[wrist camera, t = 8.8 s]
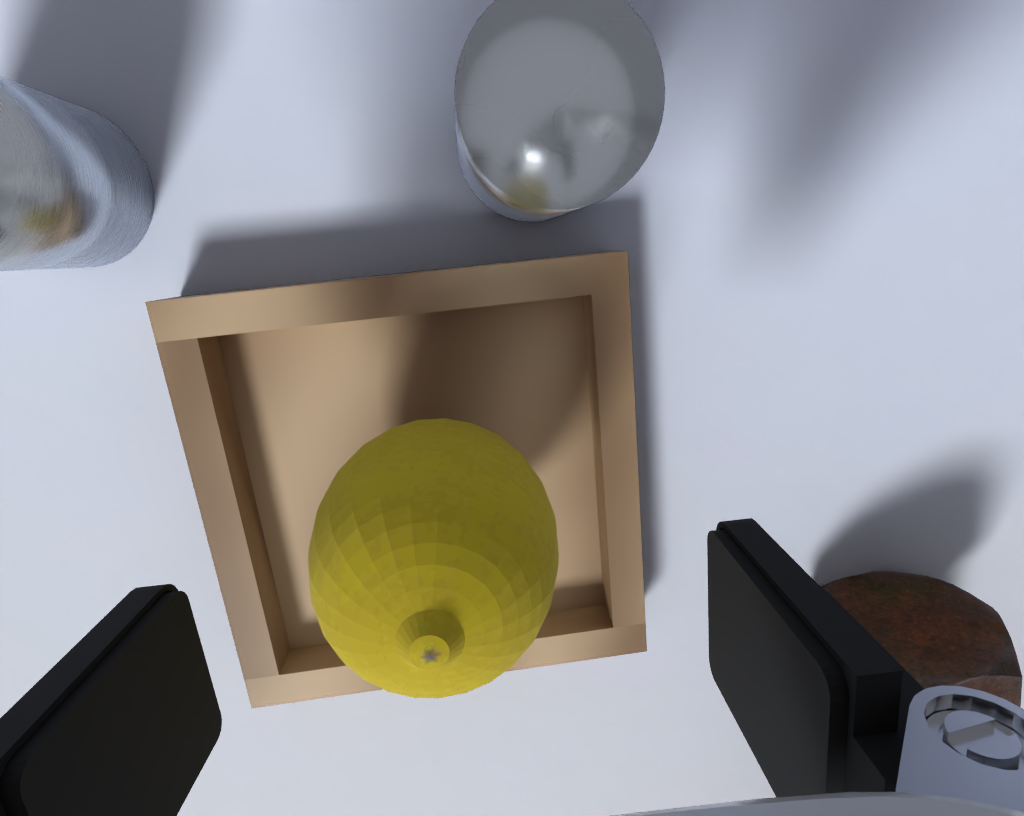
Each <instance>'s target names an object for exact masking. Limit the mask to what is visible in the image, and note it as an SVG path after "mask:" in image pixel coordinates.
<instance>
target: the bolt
mask: <svg viewBox="0 0 1024 816" xmlns="http://www.w3.org/2000/svg"><path fill="white" fill-rule="evenodd" d="M822 588H823V589H825V590H826V591H827V592H829V593H830V594H831V595H832V596H833V597H834V598H835V599H836V600H837V601H838V602H839V603H840V604H841V605H842V606H843V607H844V608H845V609H846V610H847V611H848V612H849V613H850V614H851V615H852V616H853V618H854V619H855V620H856V621H857V622H858V623H859V624H860V625H861V626H862V627H863V628H864V629H865V630H866V631H867V632H868V633H869V634H870V635H871V636H872V637H873V638H874V639H875V640H876V641H877V642H878V643H879V644H880V645H881V646H882V647H883V648H884V649H885V650H886V651H887V652H888V653H889V654H890V655H891V656H892V657H893V658H894V659H895V660H896V661H897V662H898V663H899V664H900V665H901V666H902V667H903V668H904V669H905V670H906V671H907V672H908V673H909V674H910V675H911V676H912V677H913V678H914V679H915V680H916V681H917V682H918V683H919V684H920V685H921V686H922V687H923V688H924V689H926V688H931V687H936V686H941V685H942V686H962V687H966V688H971V689H976V690H980V691H984V692H987V693H989V694H992V695H995V696H997V697H1000V698H1003V699H1005V700H1007V701H1009V702H1011V703H1013V704H1015V705H1017V706H1018V707H1020V705H1021V688H1022V675H1021V671H1020V667H1019V663H1018V659H1017V655H1016V652H1015V649H1014V646H1013V643H1012V640H1011V637H1010V635H1009V633H1008V631H1007V629H1006V627H1005V625H1004V623H1003V621H1002V619H1001V617H1000V615H999V614H998V613H997V612H996V611H995V610H994V609H993V608H992V607H991V606H989V605H988V604H986V603H984V602H983V601H981V600H980V599H978V598H976V597H975V596H973V595H972V594H970V593H968V592H966V591H964V590H962V589H960V588H958V587H957V586H955V585H953V584H950V583H947V582H945V581H942V580H939V579H936V578H932V577H928V576H922V575H916V574H908V573H898V572H869V573H865V574H861V575H857V576H851V577H846V578H842V579H839V580H836V581H834V582H831V583H829V584H827V585H825V586H824V587H822Z"/></svg>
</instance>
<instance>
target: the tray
mask: <svg viewBox="0 0 1024 816" xmlns="http://www.w3.org/2000/svg"><path fill="white" fill-rule="evenodd" d="M145 303H146V307H147V310H148V314H149V318H150V322H151V326H152V329H153V333H154V337H155V341H156V345H157V349H158V352H159V356H160V360H161V364H162V368H163V371H164V375H165V379H166V383H167V387H168V390H169V394H170V398H171V402H172V406H173V410H174V413H175V417H176V421H177V425H178V429H179V432H180V436H181V440H182V444H183V448H184V451H185V455H186V459H187V463H188V467H189V471H190V474H191V478H192V482H193V486H194V490H195V493H196V497H197V501H198V505H199V509H200V513H201V516H202V520H203V524H204V528H205V532H206V535H207V539H208V543H209V547H210V551H211V554H212V558H213V562H214V566H215V570H216V574H217V577H218V581H219V585H220V589H221V593H222V596H223V600H224V604H225V608H226V612H227V615H228V619H229V623H230V627H231V631H232V635H233V638H234V642H235V646H236V650H237V654H238V657H239V661H240V665H241V669H242V673H243V676H244V680H245V684H246V688H247V692H248V696H249V699H250V703H251V707H252V708H257V707H264V706H271V705H278V704H285V703H292V702H299V701H305V700H312V699H319V698H326V697H333V696H340V695H347V694H354V693H361V692H368V691H375V690H382V688H380V687H378V686H376V685H373V684H371V683H369V682H367V681H365V680H364V679H362V678H361V677H360V676H359V675H357V674H356V673H355V672H354V671H353V670H351V669H350V668H349V667H348V666H347V665H345V664H344V663H343V661H342V660H341V659H340V658H339V656H338V655H337V654H336V652H335V651H334V650H333V648H332V647H331V645H330V644H329V643H328V641H327V640H326V639H325V637H324V635H323V633H322V630H321V627H320V625H319V622H318V619H317V616H316V614H315V611H314V608H313V605H312V603H311V596H310V584H309V569H308V553H309V545H310V541H311V536H312V531H313V527H314V522H315V518H316V514H317V510H318V507H319V505H320V502H321V501H322V499H323V497H324V495H325V493H326V491H327V490H328V488H329V486H330V484H331V482H332V480H333V479H334V477H335V475H336V474H337V472H338V471H339V469H340V468H341V467H342V466H343V465H344V464H345V463H346V462H347V461H348V460H349V459H350V458H351V457H352V456H353V455H354V454H355V453H356V452H357V451H358V450H359V449H360V448H361V447H362V446H363V445H364V444H366V443H367V442H369V441H371V440H372V439H374V438H376V437H377V436H379V435H380V434H382V433H384V432H385V431H387V430H389V429H390V428H393V427H396V426H400V425H403V424H406V423H409V422H413V421H416V420H423V419H442V418H447V419H452V420H458V421H463V422H469V423H473V424H475V425H478V426H480V427H482V428H484V429H487V430H489V431H491V432H493V433H495V434H498V435H499V436H500V437H502V438H503V439H504V440H505V441H506V442H508V443H509V444H510V445H511V446H513V447H514V448H515V449H516V450H518V451H519V452H520V453H521V454H522V455H523V456H524V458H525V459H526V460H527V462H528V463H529V464H530V466H531V467H532V469H533V470H534V471H535V473H536V474H537V475H538V477H539V478H540V480H541V481H542V483H543V486H544V488H545V491H546V493H547V496H548V498H549V501H550V504H551V506H552V509H553V512H554V515H555V519H556V527H557V539H558V551H559V565H558V572H557V577H556V582H555V588H554V593H553V598H552V602H551V606H550V609H549V611H548V614H547V616H546V618H545V620H544V622H543V624H542V626H541V628H540V630H539V632H538V634H537V636H536V638H535V640H534V642H533V643H532V644H531V645H530V646H529V648H528V649H527V650H526V651H525V652H524V653H523V655H522V656H521V657H520V658H519V659H518V660H517V662H516V663H515V664H514V665H513V666H512V667H510V668H509V669H508V670H506V671H513V670H520V669H527V668H534V667H541V666H548V665H555V664H561V663H568V662H575V661H582V660H589V659H596V658H603V657H610V656H617V655H624V654H631V653H638V652H645V651H647V645H646V624H645V603H644V582H643V561H642V540H641V519H640V498H639V477H638V456H637V435H636V414H635V393H634V372H633V351H632V330H631V309H630V288H629V267H628V251H604V252H594V253H585V254H575V255H566V256H557V257H547V258H538V259H528V260H519V261H510V262H500V263H491V264H481V265H472V266H463V267H453V268H444V269H434V270H425V271H416V272H406V273H397V274H387V275H378V276H369V277H359V278H350V279H340V280H331V281H322V282H312V283H303V284H293V285H284V286H275V287H265V288H256V289H246V290H237V291H227V292H218V293H209V294H199V295H190V296H180V297H174V298H168V299H162V300H156V301H149V302H145ZM506 671H505V672H506Z"/></svg>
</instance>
